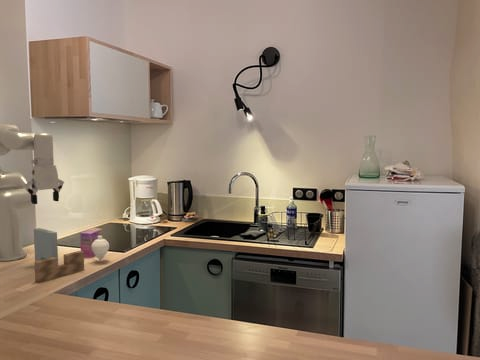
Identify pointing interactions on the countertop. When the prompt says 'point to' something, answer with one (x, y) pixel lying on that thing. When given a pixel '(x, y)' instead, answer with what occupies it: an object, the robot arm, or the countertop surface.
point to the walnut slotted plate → (50, 270)
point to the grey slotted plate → (45, 244)
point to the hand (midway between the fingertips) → (45, 202)
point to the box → (89, 241)
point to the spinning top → (100, 247)
